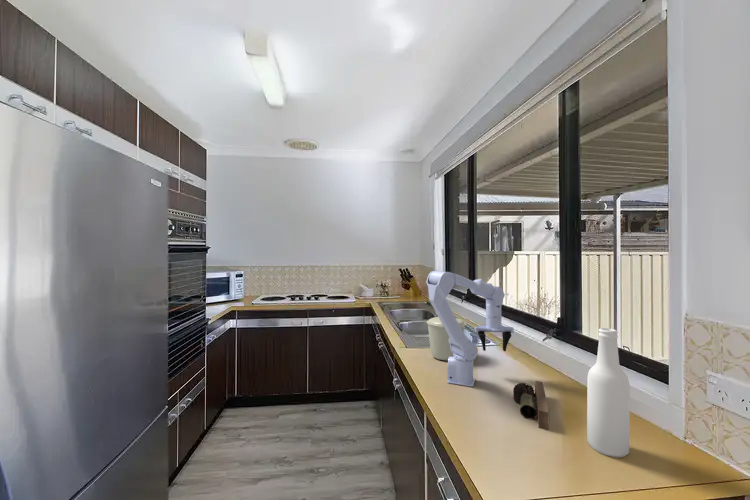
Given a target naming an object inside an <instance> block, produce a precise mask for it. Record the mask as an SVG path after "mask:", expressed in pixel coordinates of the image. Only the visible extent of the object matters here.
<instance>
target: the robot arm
mask: <svg viewBox="0 0 750 500" xmlns="http://www.w3.org/2000/svg"><path fill="white" fill-rule="evenodd" d="M425 283H426V285H427V291H428V300H429V303H430V304H431V307H432V308H433V310H434V312H435V314H436V315H437V317H439V319H440V321H441V322H442V324H443V326H444V328H445V330H446V332H447V333H448V335H449V337H450V338H449V340H448V341H449V343H450V349H451V351H452V353H453V356H454V357H449V359H448V361H447V381H446V383H448V384H452V385H453V384H454V385H460V386H466V387H467V386H468V387H474V386H475V385H474V384H475V383H476V378H475V377H474V361H475V359H476V357H478V352H479V350H478V349H479V348H478V345H476V344H475V343H473V342H472V340H471V339H470V337H469V336H467V335H466V334H465V332H464V333H463V331H462V329H461V327H460V326H459V324H458V322H457V320H456V318H457V317H456V316H455V315H454V313H453V311H452V308H451V307H450V305H449V304H448V302H447V300H446V299H447V297H448V295H449V294H450V293H451V291H452V289H453V288H454V287H456V286H457V285H458V286H460V287H463V288H466V289H469V290H470V292H471V294H474V295H476V296H479V297H482V298H483V299H485V310H486V311H485V318H486V319H485V321H486V323H485V324H486V325H476V326H475V325H474V332H475V333H477V335H478V337H479V339H480V342H481V345H482V351H484V352H486V350H487V349H486V348H487V347H486V337H487V336H486V333H501V337H502V351H504V352H507V346H508V343H509V341H510V339H511V337H512V334H515V333H514V330H515V329H514V327H513V326H503V325H502V305H503V300H504V298H505V295H506V294H505V293H504V290H503V289H502V287H500V286H496V285H495V286H494V285H493V283H491V282H489V283H488V282H485V281H484V279H482V278H478V279H474V280H472V279H469V278H467V277H465V276H462V275H459V274H457V273H453V272H451V271H439V270H433V271H432V270H431V271H430V273H429V274H428V275H427V279H426V281H425Z"/></svg>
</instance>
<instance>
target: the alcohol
mask: <svg viewBox="0 0 750 500" xmlns="http://www.w3.org/2000/svg"><path fill="white" fill-rule="evenodd" d="M618 333H619V331H618V330H617V329H614V328H608V327H607V328H606V327H600V328H599V329H598V346H597V356H596V361H595V364H594V365H593V366H591V368H590V369H588V373H587V377H586V378H587V381H586V382H587V385H586V386H587V388H586V389H587V392H586V393H587V396H586V397H587V400H586V401H587V402H586V405H587V406H586V409H587V410H586V412H587V416H586V424H587V425H586V440H587V443H588V444H589V446H590V447H591V448H592V449H593V450H594V451H595V452H597V453H600V454H602V455H604V456H608V457H611V458H624V457H626V456H627V455H628V454H629V453H630V411H631V410H630V404H631V403H630V400H631V399H630V380H629V377H628V375H627V374H626V373H625V372H624V370H623V369H622V368H621V365H620V356H619V347H618V346H619V345H618V337H619V336H618Z"/></svg>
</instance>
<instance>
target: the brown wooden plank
mask: <svg viewBox="0 0 750 500" xmlns="http://www.w3.org/2000/svg"><path fill="white" fill-rule="evenodd" d="M534 393H535V395H536V396H535V397H534V399H535V404H536V409H537V413H538V415H537V417H536V418H537V423H538V429H544V430H549V429H550V423H549V422H550V421H549V420H550V417H549V415H550V414H549V412H550V411H549V407H548V401H547V397H546V391H545V386H544V382H543V381H538V380H534Z"/></svg>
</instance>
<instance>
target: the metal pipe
mask: <svg viewBox="0 0 750 500" xmlns="http://www.w3.org/2000/svg"><path fill="white" fill-rule="evenodd" d="M512 389H513V390H512V393H513V395H512V396H513V401H514V402H515V403H517V404H520V407H519V413H520V415H521V416H522V417H523V418H525V419H528V420H535V419H537V418H538V417H537V415H538V413H537V409H536V401H535V396H536V395H535V389H534V387H533V386H532V385H531V384H529V383H525V382H520V383H516V384H515V385H514V387H513V388H512Z"/></svg>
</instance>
